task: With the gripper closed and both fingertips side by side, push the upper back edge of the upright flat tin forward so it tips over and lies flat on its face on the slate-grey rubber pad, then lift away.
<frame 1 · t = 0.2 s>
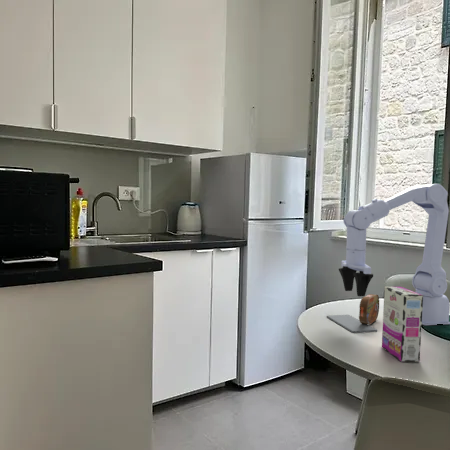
hand: (354, 293, 134), 10 cm above the table, fingers open, 7 cm apart
candy bar box: (400, 355, 110), on the table
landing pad: (350, 323, 136), on the table
tin: (367, 322, 138), on the table, touching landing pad
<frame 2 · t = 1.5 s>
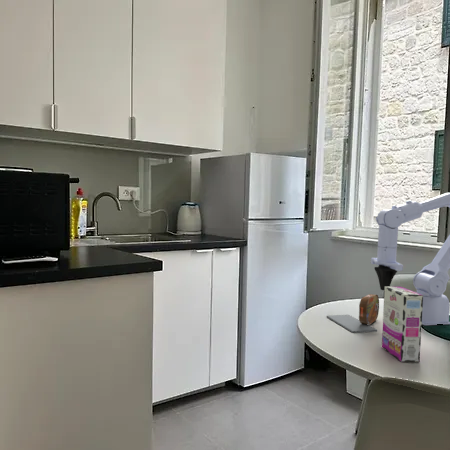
hand: (384, 289, 138), 10 cm above the table, fingers closed
nothing on the table moved.
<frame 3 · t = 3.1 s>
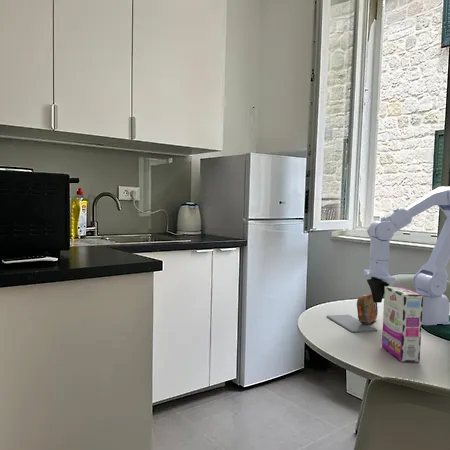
hand: (377, 302, 138), 7 cm above the table, fingers closed
tin: (367, 322, 138), on the table, touching gripper, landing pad
everything else where it was.
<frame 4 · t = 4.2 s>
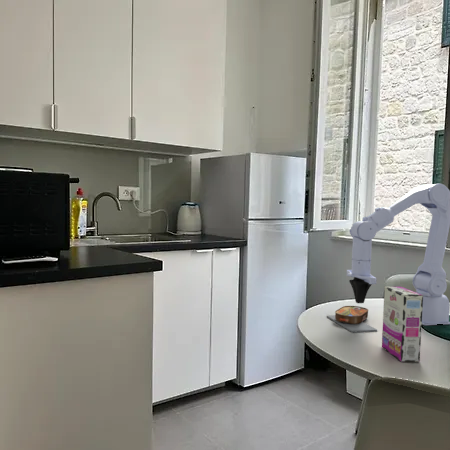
hand: (359, 302, 137), 7 cm above the table, fingers closed
tin: (365, 317, 138), point 2 cm above the table, touching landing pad
everything else where it was.
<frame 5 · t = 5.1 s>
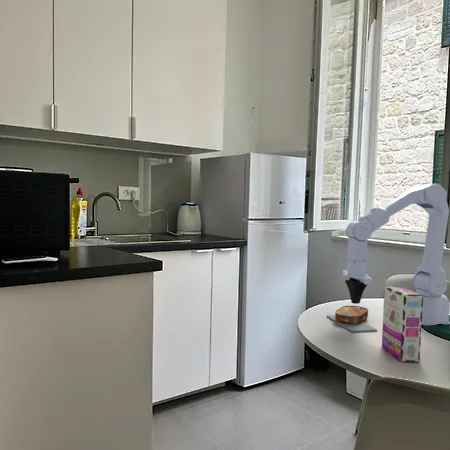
hand: (355, 303, 136), 6 cm above the table, fingers closed
nothing on the table moved.
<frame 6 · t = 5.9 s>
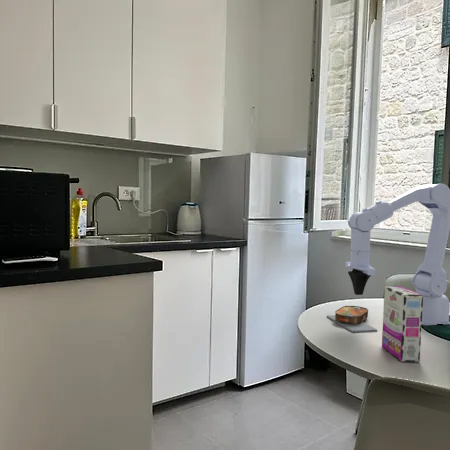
hand: (358, 294, 136), 9 cm above the table, fingers closed
nothing on the table moved.
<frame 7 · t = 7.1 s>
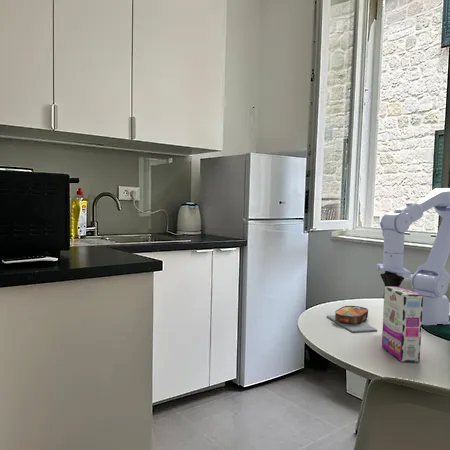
hand: (391, 297, 132), 9 cm above the table, fingers closed
nothing on the table moved.
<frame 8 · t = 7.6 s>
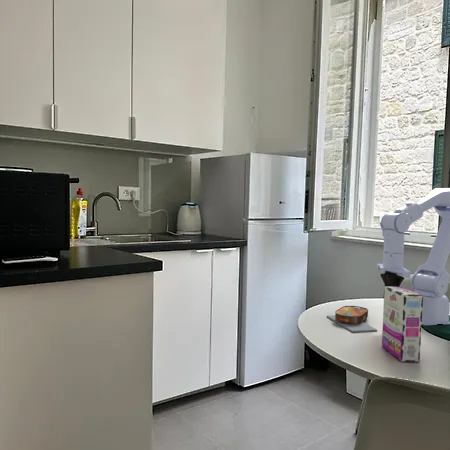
hand: (391, 297, 132), 9 cm above the table, fingers closed
nothing on the table moved.
at the end: tin tilted 86°; tin inside the target area (3.5 cm from its centre), point 1.5 cm above the table; the gripper is holding nothing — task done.
